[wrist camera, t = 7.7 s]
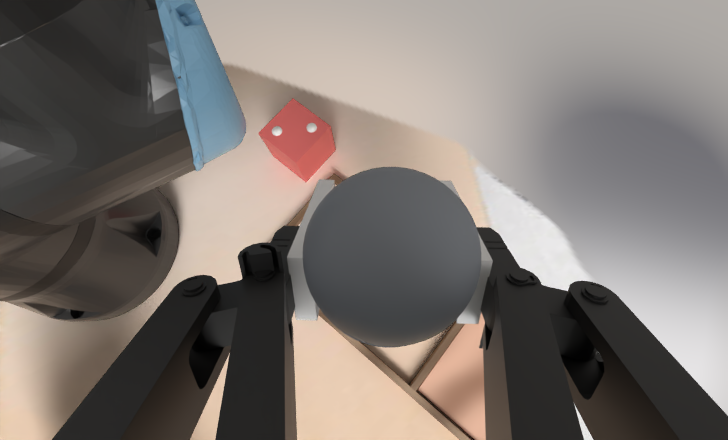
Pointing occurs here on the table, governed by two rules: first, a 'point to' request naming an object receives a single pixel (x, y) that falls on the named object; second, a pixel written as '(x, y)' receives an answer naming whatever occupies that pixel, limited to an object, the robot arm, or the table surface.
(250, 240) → the table surface
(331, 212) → the pawn
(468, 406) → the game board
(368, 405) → the table surface
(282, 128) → the red die
